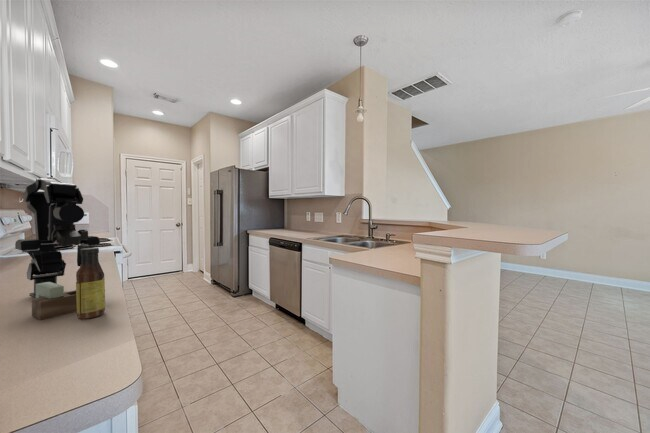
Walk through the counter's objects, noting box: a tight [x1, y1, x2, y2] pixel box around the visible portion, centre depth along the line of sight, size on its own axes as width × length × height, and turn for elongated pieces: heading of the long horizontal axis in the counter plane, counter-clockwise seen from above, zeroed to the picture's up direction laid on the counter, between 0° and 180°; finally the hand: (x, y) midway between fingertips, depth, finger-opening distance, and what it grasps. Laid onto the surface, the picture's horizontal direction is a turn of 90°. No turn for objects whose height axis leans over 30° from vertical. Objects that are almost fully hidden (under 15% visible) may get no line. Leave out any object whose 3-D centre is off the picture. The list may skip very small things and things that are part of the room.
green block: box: [35, 282, 65, 299], centre depth 79 cm, size 10×3×8 cm, turn 64°
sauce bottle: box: [75, 247, 106, 320], centre depth 76 cm, size 6×6×20 cm
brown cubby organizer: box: [31, 289, 77, 321], centre depth 79 cm, size 6×12×5 cm, turn 154°
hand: (60, 268), depth 85 cm, fingers open, 9 cm apart
